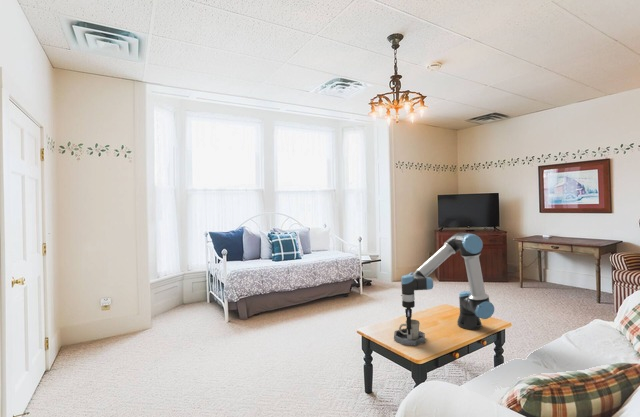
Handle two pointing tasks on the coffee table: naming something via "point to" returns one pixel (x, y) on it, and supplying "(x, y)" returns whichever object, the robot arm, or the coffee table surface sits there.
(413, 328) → the mug
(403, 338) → the gray octagonal container
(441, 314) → the coffee table surface
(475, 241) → the robot arm
